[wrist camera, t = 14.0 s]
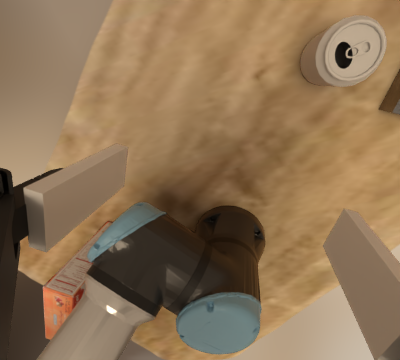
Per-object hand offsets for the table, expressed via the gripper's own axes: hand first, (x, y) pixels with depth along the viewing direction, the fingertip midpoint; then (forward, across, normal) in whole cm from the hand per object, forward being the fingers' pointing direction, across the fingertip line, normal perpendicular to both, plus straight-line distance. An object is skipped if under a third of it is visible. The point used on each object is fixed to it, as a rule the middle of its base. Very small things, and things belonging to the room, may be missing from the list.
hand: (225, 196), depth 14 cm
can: (+32, -10, -12) cm, 35 cm away
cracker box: (+32, +21, +38) cm, 54 cm away
